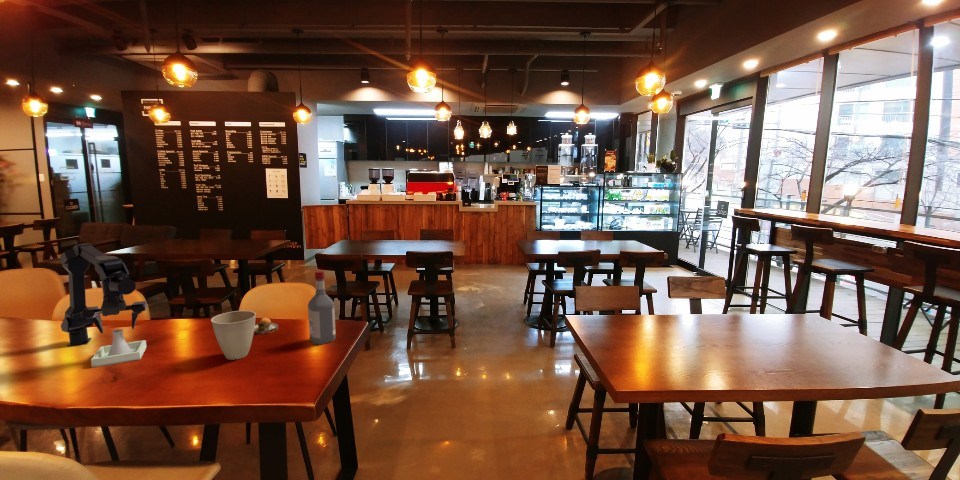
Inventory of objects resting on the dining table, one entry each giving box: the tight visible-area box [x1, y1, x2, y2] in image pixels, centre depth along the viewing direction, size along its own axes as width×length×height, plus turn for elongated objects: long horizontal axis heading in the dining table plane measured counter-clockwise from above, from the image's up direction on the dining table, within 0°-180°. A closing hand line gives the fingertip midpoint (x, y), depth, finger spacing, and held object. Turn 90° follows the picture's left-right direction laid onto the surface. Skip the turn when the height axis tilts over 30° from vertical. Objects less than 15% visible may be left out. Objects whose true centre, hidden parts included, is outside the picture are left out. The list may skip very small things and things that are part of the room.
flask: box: [108, 328, 132, 356], centre depth 165 cm, size 7×7×10 cm
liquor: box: [307, 270, 337, 346], centre depth 181 cm, size 9×9×30 cm
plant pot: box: [210, 310, 257, 361], centre depth 166 cm, size 15×15×16 cm
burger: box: [253, 317, 279, 335], centre depth 195 cm, size 12×12×8 cm
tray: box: [90, 339, 147, 368], centre depth 166 cm, size 14×14×3 cm
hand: (117, 331), depth 164 cm, fingers open, 9 cm apart
